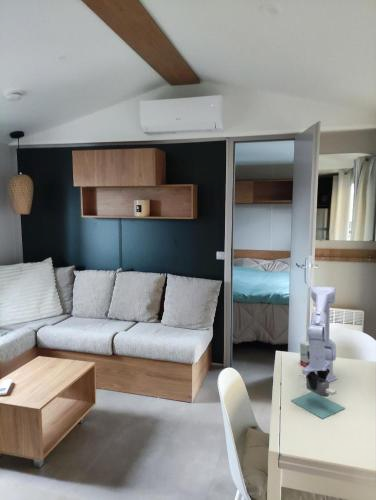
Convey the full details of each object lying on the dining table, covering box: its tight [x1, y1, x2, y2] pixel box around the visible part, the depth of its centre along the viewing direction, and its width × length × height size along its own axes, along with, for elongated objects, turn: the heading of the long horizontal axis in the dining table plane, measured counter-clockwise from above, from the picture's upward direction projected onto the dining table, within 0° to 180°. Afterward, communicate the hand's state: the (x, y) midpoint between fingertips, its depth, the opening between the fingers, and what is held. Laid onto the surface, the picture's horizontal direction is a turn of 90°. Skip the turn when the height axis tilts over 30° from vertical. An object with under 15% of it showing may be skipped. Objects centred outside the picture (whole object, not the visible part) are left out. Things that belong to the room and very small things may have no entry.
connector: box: [305, 375, 337, 398], centre depth 144 cm, size 13×4×5 cm, turn 30°
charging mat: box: [290, 391, 346, 420], centre depth 146 cm, size 16×13×1 cm
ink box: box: [299, 340, 310, 368], centre depth 183 cm, size 9×5×12 cm, turn 114°
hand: (317, 387), depth 146 cm, fingers closed on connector, 4 cm apart
